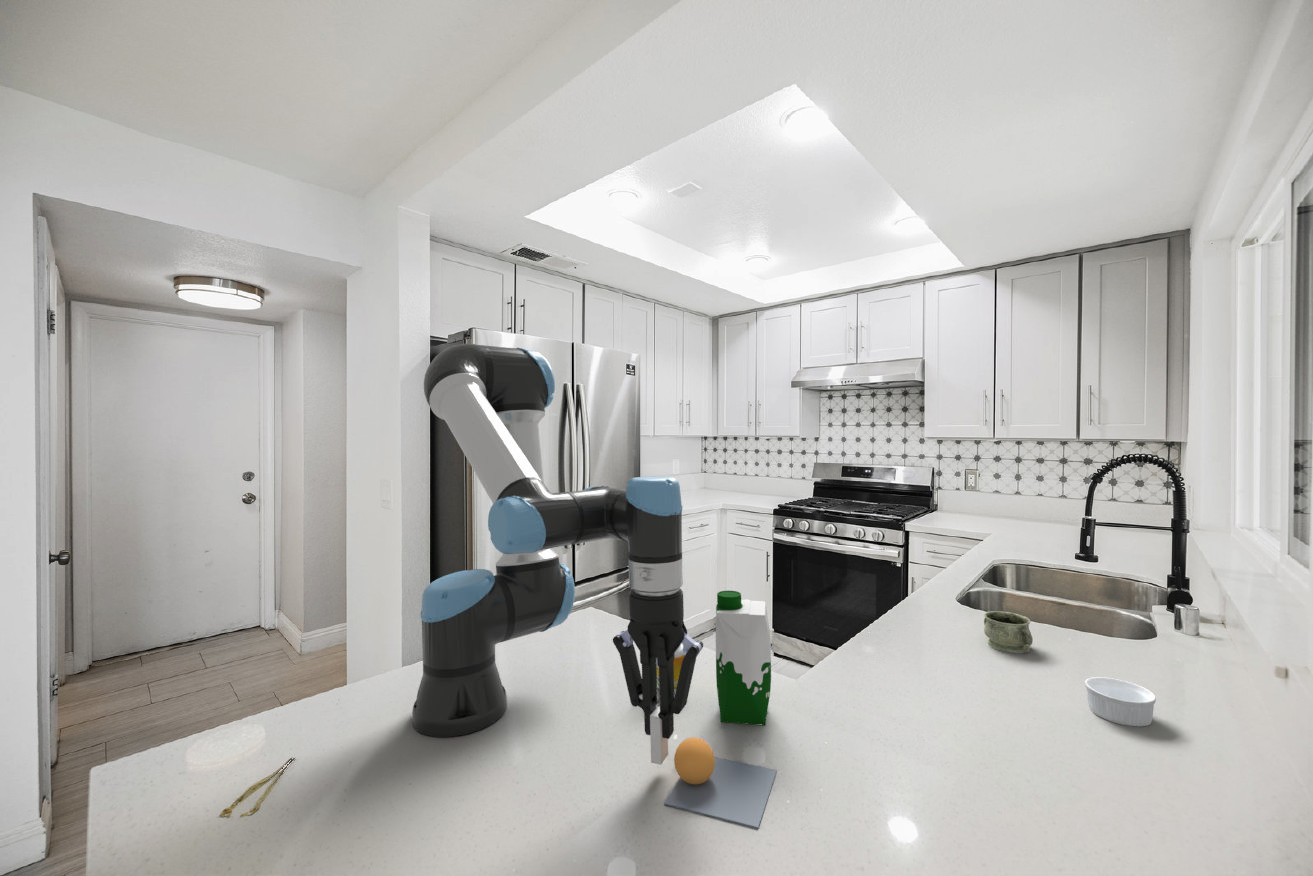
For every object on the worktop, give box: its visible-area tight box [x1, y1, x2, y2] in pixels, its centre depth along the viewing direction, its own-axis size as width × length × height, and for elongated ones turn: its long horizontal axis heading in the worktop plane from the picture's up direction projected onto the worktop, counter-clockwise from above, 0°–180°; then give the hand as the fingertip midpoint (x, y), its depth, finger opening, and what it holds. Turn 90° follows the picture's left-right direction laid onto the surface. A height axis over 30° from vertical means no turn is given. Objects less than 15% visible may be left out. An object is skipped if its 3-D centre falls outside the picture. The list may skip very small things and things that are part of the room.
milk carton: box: [715, 590, 772, 726], centre depth 92 cm, size 9×9×20 cm
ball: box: [673, 737, 716, 785], centre depth 75 cm, size 6×6×6 cm
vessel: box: [983, 610, 1033, 654], centre depth 119 cm, size 12×9×6 cm
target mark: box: [664, 755, 778, 830], centre depth 73 cm, size 12×12×1 cm
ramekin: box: [1084, 676, 1157, 728], centre depth 90 cm, size 9×9×4 cm
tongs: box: [220, 757, 296, 819], centre depth 76 cm, size 4×13×2 cm, turn 8°
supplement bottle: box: [657, 643, 685, 693], centre depth 103 cm, size 5×5×10 cm
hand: (659, 758), depth 77 cm, fingers closed
